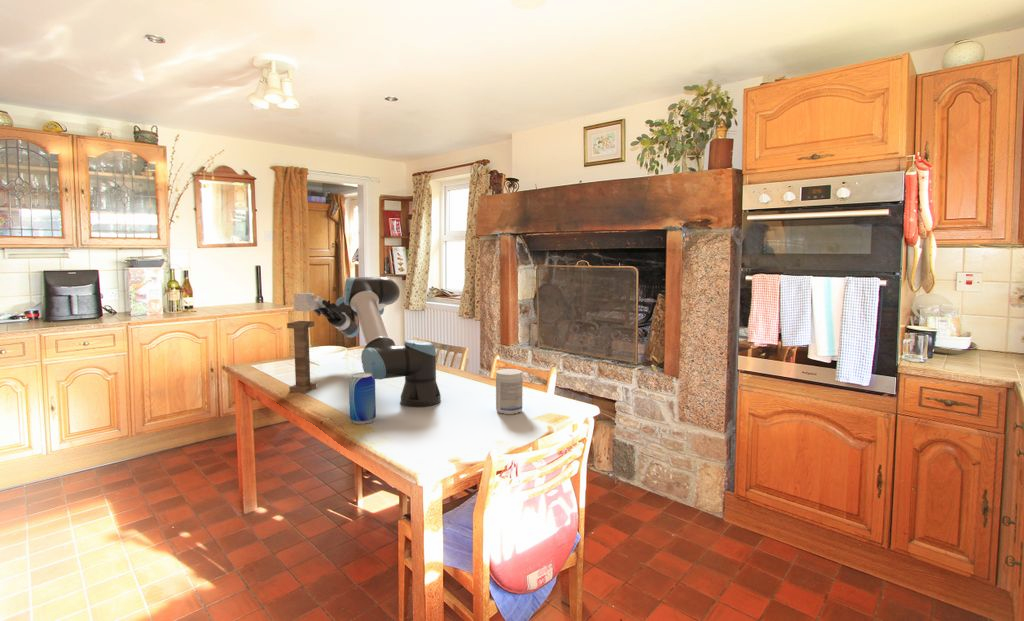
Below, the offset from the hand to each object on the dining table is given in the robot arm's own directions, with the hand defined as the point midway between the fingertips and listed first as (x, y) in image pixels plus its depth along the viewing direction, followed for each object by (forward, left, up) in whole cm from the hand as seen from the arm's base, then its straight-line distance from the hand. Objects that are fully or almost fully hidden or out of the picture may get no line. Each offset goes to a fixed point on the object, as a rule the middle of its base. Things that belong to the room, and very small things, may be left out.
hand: (313, 298), depth 216 cm
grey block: (-1, +1, -5) cm, 5 cm away
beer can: (-58, -1, -37) cm, 69 cm away
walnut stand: (-7, +6, -37) cm, 38 cm away
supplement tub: (-75, -49, -37) cm, 97 cm away
